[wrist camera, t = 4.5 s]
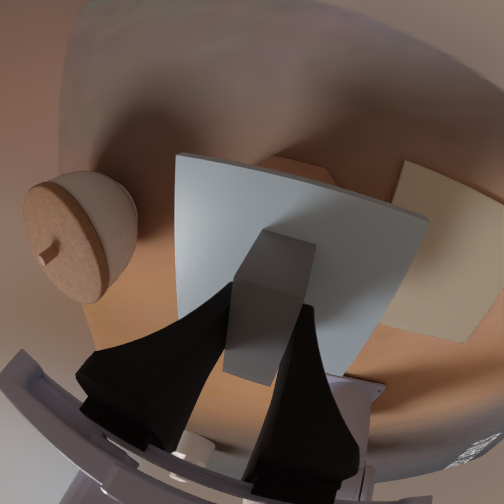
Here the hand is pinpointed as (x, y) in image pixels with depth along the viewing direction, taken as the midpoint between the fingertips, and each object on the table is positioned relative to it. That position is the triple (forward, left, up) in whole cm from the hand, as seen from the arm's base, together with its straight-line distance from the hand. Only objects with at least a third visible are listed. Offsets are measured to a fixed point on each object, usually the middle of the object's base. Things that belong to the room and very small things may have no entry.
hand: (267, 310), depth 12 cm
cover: (0, 0, -2) cm, 2 cm away
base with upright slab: (-59, +9, -9) cm, 60 cm away
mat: (0, -12, -9) cm, 15 cm away
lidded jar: (-3, +17, -9) cm, 20 cm away
